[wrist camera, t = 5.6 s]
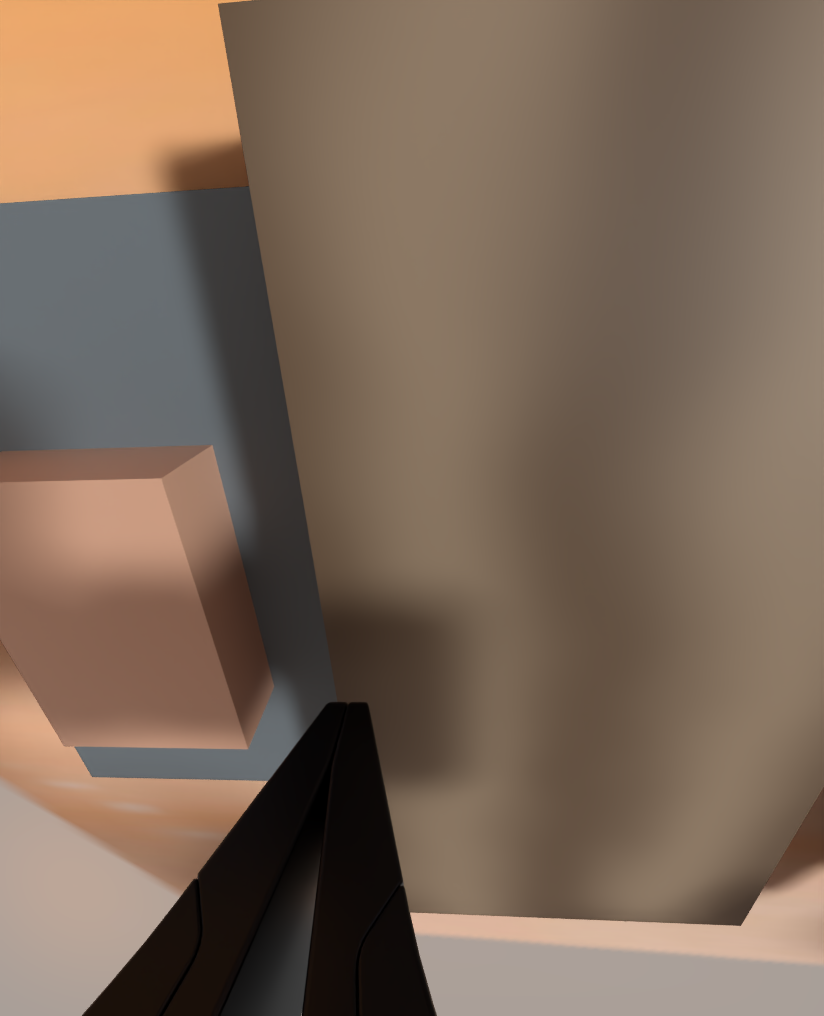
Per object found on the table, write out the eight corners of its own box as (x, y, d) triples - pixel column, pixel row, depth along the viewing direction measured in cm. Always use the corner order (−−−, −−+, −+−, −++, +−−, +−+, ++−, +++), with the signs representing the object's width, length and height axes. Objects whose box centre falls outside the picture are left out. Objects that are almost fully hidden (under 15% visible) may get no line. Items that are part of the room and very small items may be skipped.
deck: (942, 76, 8) (1357, -107, 4) (678, 797, 18) (740, 925, 14) (307, 125, 9) (218, 3, 5) (385, 790, 18) (373, 910, 15)
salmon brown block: (-93, 485, 10) (2, 451, 12) (64, 746, 14) (114, 685, 16) (161, 478, 9) (212, 444, 12) (247, 749, 13) (274, 686, 15)
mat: (291, 186, 9) (287, 183, 9) (371, 775, 18) (370, 782, 18) (-216, 221, 10) (-235, 219, 10) (97, 770, 19) (92, 777, 18)
